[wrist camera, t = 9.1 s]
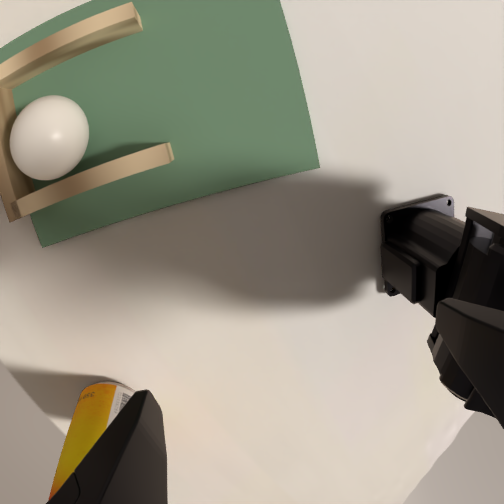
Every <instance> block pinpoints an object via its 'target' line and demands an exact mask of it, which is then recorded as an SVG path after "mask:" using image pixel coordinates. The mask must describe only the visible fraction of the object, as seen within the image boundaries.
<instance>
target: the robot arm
mask: <svg viewBox="0 0 504 504" xmlns="http://www.w3.org/2000/svg"><path fill="white" fill-rule="evenodd" d="M447 201H448V203H447ZM388 216H390V219H389V220H388V221H387V217H388ZM465 216H466V217H467V218H466V222H463V221H461V220H459V219H457V218H454V200H453V198H452V197H451V196H448V195H444V196H440V197H436V198H433V199H429V200H425V201H421V202H417V203H413V204H410V205H406V206H402V207H398V208H394V209H391V210H387V211H384V212H383V213H382V215H381V230H382V244H381V257H382V275H383V278H384V279H385V292H386V293H387V294H388V295H389V296H395V295H398V294H400V293H401V294H402V295H403V296H404V297H406V298H407V299H408V300H409V301H410V302H411V303H413V304H416V303H419V304H420V305H421V306H422V307H423V308H424V309H425V310H426V311H428V312H429V313H430V314H431V315H432V316H433V317H434V318H436V322H435V326H434V329H433V331H432V333H431V334H430V335H429V338H428V340H427V343H428V346H429V348H430V350H431V353H432V355H433V361H434V363H435V365H436V366H437V368H438V370H439V373H440V377H439V379H440V381H441V383H442V384H443V385H444V386H445V387H446V388H447V389H448V390H449V391H450V392H451V393H452V394H453V395H454V396H455V397H457V398H459V399H461V400H463V401H465V404H464V407H465V408H466V409H468V410H472V411H478V412H482V413H485V414H487V415H490V416H492V417H494V418H496V419H497V420H498V421H499V423H500V424H501V426H502V427H503V429H504V214H500V213H495V212H490V211H486V210H481V209H476V208H471V207H467V210H466V215H465ZM392 288H393V289H392ZM391 289H392V290H391ZM390 290H391V291H390ZM46 504H168V502H167V453H166V444H165V435H164V426H163V415H162V411H161V408H160V406H159V405H158V403H157V401H156V400H155V398H154V396H153V395H152V393H151V392H150V391H149V390H141V391H136V392H135V393H134V394H133V395H132V396H131V398H130V399H129V400H128V402H127V403H126V404H125V405H124V407H123V408H122V409H121V411H120V412H119V413H118V414H117V416H116V417H115V418H114V419H113V421H112V422H111V423H110V425H109V426H108V427H107V428H106V430H105V431H104V432H103V434H102V435H101V436H100V437H99V439H98V440H97V441H96V443H95V444H94V445H93V446H92V448H91V449H90V450H89V452H88V453H87V454H86V455H85V457H84V458H83V459H82V461H81V462H80V463H79V464H78V466H77V467H76V468H75V470H74V472H72V473H71V475H70V476H69V477H68V479H67V480H66V481H65V482H64V484H63V485H62V486H61V487H60V488H59V490H58V491H57V492H56V493H55V494H54V495H53V496H52V498H51V499H50V500H49V501H48V502H47V503H46Z"/></svg>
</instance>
